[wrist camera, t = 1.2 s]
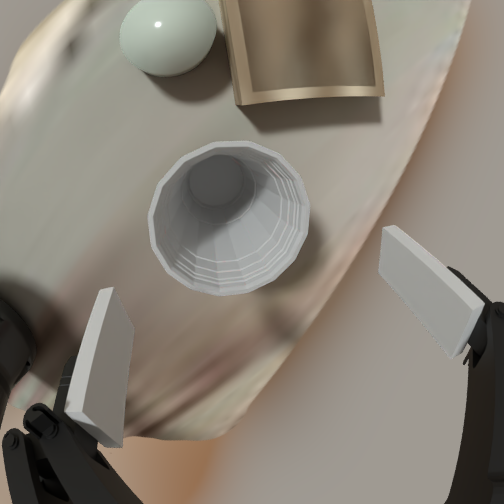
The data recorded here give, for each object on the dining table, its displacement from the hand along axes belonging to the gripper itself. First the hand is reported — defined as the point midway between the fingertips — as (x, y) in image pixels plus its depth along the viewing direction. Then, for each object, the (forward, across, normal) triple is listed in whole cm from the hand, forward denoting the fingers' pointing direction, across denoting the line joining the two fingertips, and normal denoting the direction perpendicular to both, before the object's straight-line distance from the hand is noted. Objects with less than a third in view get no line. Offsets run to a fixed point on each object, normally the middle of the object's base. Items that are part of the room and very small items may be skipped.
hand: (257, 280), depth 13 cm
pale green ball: (+18, -2, +15) cm, 24 cm away
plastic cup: (+18, 0, 0) cm, 18 cm away
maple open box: (+18, +10, +14) cm, 25 cm away
